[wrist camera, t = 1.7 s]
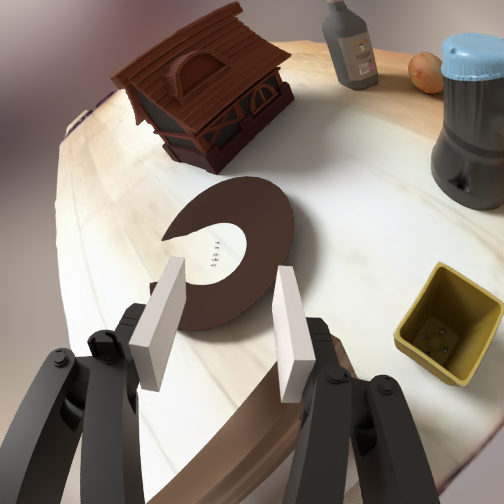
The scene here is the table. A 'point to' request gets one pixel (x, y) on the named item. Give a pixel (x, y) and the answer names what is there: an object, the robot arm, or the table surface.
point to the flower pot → (450, 326)
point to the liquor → (349, 47)
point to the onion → (426, 72)
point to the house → (207, 88)
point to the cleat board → (250, 451)
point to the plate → (257, 251)
